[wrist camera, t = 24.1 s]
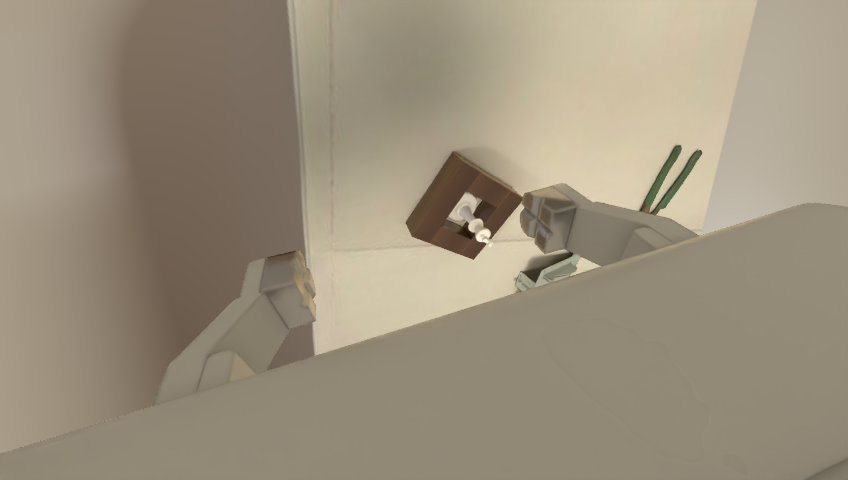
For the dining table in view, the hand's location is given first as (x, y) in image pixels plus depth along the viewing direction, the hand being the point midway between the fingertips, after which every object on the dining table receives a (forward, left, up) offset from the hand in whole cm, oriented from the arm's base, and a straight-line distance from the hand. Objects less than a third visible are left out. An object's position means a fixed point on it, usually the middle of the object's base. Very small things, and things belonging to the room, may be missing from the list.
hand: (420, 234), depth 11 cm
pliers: (+51, -27, -27) cm, 64 cm away
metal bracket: (+30, -40, -27) cm, 57 cm away
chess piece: (+12, -18, -27) cm, 35 cm away
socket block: (+12, -18, -27) cm, 35 cm away
